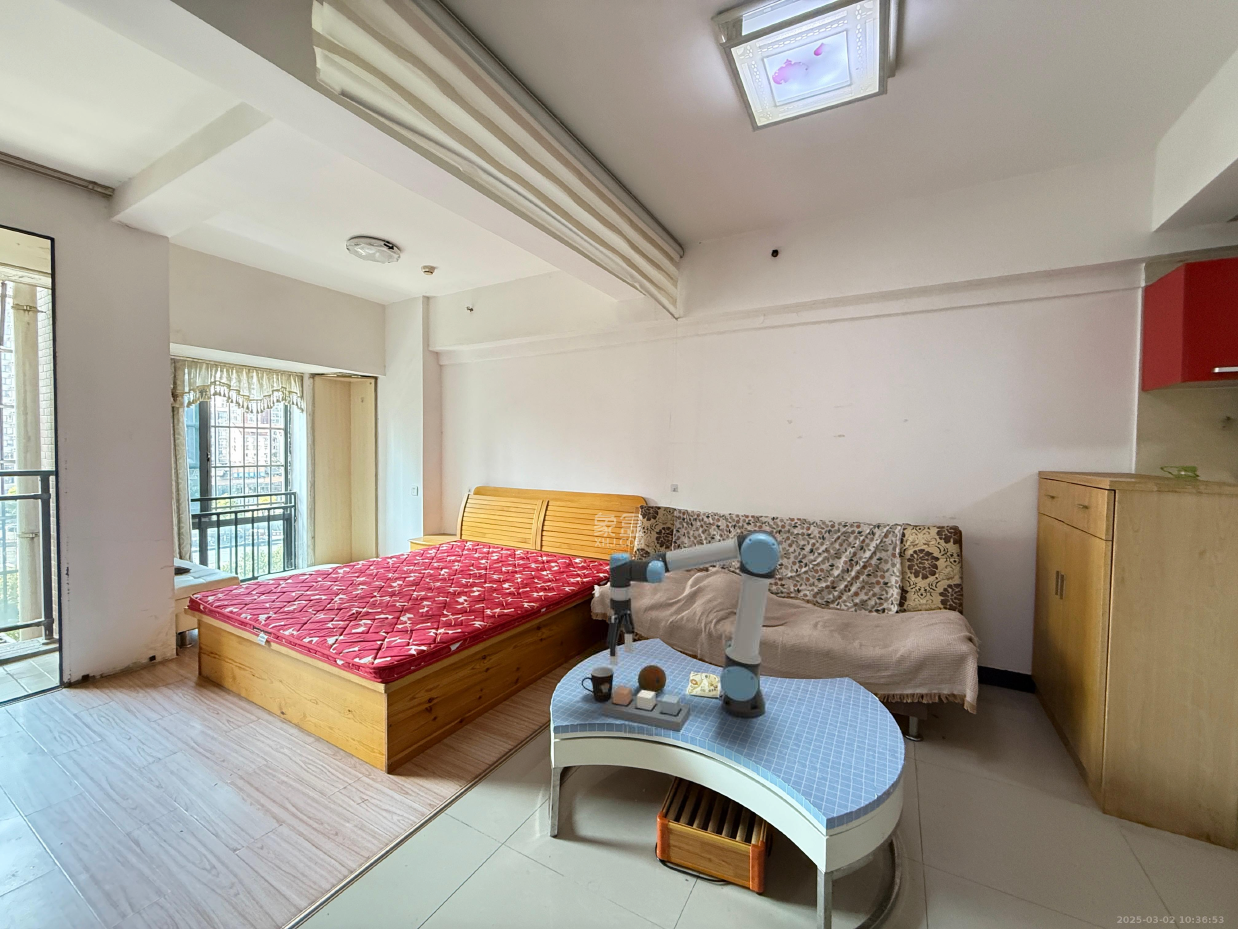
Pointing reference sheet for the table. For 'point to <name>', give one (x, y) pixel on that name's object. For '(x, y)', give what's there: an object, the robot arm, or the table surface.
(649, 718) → the grey slotted tray
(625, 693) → the key terracotta
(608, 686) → the coffee mug
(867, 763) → the table surface
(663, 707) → the key slate
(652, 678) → the fruit
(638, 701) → the key ivory
